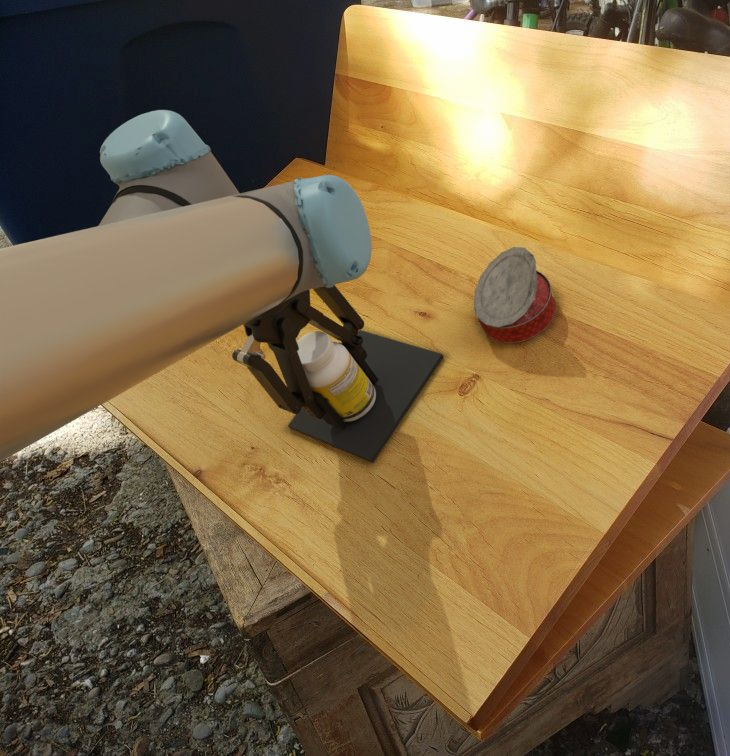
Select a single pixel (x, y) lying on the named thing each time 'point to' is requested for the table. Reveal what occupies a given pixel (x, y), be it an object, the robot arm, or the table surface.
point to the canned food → (514, 298)
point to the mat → (377, 397)
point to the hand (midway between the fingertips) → (353, 401)
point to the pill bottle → (336, 376)
